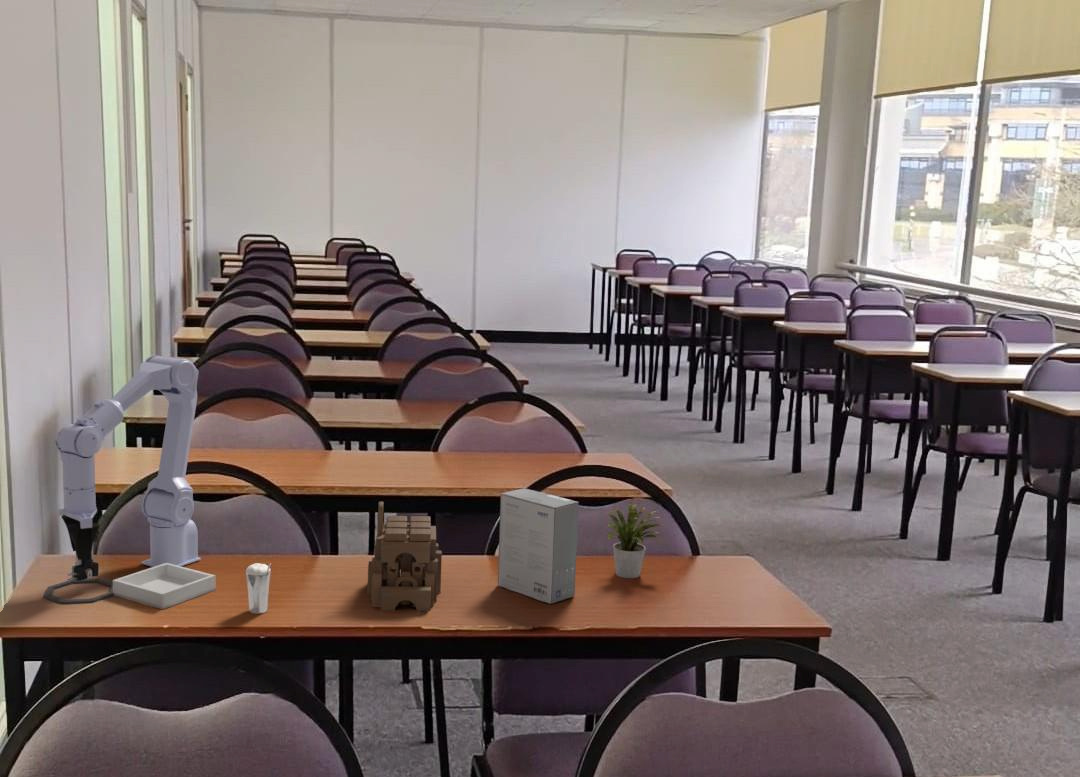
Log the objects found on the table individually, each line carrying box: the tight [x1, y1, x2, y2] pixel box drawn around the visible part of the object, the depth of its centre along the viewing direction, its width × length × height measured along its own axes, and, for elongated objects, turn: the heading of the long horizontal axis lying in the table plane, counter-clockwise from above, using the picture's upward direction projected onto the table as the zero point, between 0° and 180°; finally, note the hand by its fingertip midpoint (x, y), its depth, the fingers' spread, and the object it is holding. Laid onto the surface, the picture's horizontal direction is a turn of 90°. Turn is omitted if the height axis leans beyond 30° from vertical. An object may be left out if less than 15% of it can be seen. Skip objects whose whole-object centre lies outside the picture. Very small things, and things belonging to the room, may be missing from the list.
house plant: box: [605, 500, 666, 579], centre depth 245 cm, size 14×14×16 cm
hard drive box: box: [497, 488, 580, 605], centre depth 233 cm, size 16×8×20 cm, turn 47°
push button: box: [66, 530, 100, 581], centre depth 222 cm, size 7×5×10 cm
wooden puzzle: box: [367, 501, 443, 612], centre depth 230 cm, size 22×15×19 cm, turn 6°
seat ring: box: [43, 577, 115, 605], centre depth 223 cm, size 13×13×1 cm
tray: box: [112, 563, 217, 610], centre depth 225 cm, size 14×14×3 cm
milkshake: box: [245, 562, 272, 615], centre depth 216 cm, size 4×5×10 cm
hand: (81, 554), depth 222 cm, fingers closed on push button, 5 cm apart
